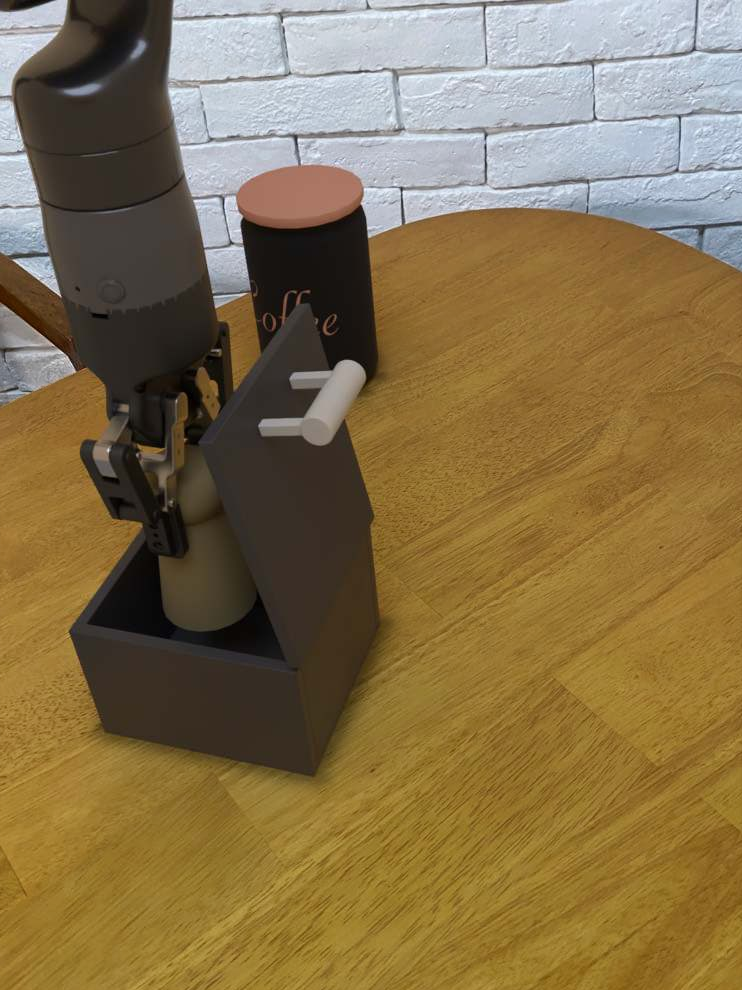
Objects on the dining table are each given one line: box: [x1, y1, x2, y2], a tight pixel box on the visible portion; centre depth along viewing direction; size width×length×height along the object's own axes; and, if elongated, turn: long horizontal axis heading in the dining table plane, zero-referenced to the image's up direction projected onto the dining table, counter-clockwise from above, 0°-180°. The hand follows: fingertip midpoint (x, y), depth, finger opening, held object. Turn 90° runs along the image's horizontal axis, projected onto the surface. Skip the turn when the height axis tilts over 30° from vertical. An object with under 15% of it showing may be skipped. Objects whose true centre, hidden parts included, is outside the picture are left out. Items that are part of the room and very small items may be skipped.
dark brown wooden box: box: [68, 526, 381, 778], centre depth 74 cm, size 15×14×10 cm
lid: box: [198, 303, 376, 668], centre depth 63 cm, size 16×14×5 cm
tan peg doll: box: [145, 445, 257, 632], centre depth 69 cm, size 6×6×11 cm
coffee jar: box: [235, 164, 379, 387], centre depth 99 cm, size 11×11×18 cm
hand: (191, 521), depth 68 cm, fingers closed on tan peg doll, 5 cm apart
